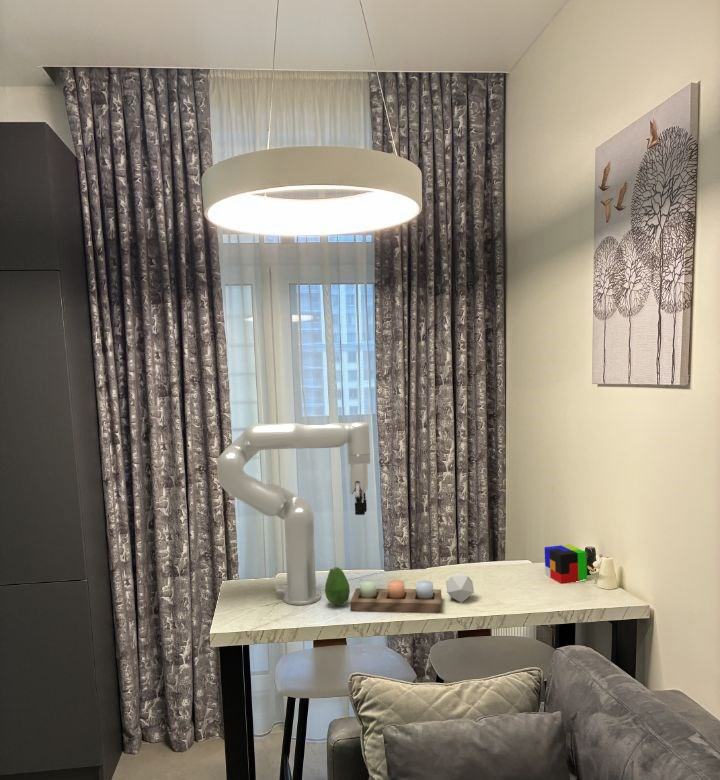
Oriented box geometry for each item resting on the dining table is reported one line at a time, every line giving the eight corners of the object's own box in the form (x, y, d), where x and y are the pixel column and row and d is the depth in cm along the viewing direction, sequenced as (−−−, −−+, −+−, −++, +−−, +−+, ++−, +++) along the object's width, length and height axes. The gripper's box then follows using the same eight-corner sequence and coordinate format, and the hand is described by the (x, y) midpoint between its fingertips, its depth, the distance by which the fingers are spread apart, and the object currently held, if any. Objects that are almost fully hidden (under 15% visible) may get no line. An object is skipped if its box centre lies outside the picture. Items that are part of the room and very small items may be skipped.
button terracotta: (387, 598, 186) (387, 585, 186) (389, 592, 191) (388, 580, 191) (404, 598, 185) (403, 586, 185) (405, 592, 190) (404, 580, 190)
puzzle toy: (545, 575, 211) (544, 547, 211) (570, 571, 213) (569, 544, 213) (561, 584, 201) (560, 555, 201) (587, 580, 204) (586, 551, 203)
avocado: (334, 598, 195) (333, 562, 195) (354, 602, 191) (353, 565, 191) (320, 607, 189) (319, 569, 188) (340, 611, 184) (339, 573, 184)
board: (350, 611, 184) (350, 601, 184) (356, 597, 196) (356, 588, 196) (441, 613, 180) (440, 603, 180) (441, 598, 192) (441, 589, 192)
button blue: (416, 598, 184) (415, 586, 184) (417, 592, 190) (416, 580, 190) (433, 599, 184) (432, 586, 184) (433, 593, 189) (433, 580, 189)
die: (480, 603, 188) (477, 572, 194) (464, 596, 183) (462, 564, 189) (457, 608, 193) (455, 577, 199) (441, 601, 188) (439, 570, 194)
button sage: (359, 597, 187) (358, 585, 187) (361, 592, 192) (361, 579, 192) (375, 598, 186) (375, 585, 186) (377, 592, 192) (377, 580, 191)
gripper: (352, 455, 208) (353, 507, 208) (343, 462, 191) (345, 519, 192) (373, 455, 207) (375, 507, 207) (366, 462, 190) (368, 519, 191)
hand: (361, 512), depth 199 cm, fingers open, 3 cm apart
